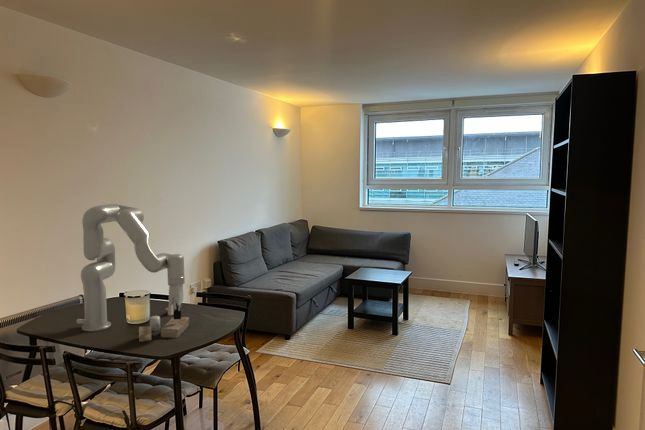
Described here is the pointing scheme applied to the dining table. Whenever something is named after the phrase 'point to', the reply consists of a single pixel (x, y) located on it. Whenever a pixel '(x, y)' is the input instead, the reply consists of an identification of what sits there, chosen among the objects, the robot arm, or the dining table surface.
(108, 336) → the dining table surface
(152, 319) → the grey cylinder
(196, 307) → the dining table surface
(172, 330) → the brick
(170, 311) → the architectural model
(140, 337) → the beech cube
